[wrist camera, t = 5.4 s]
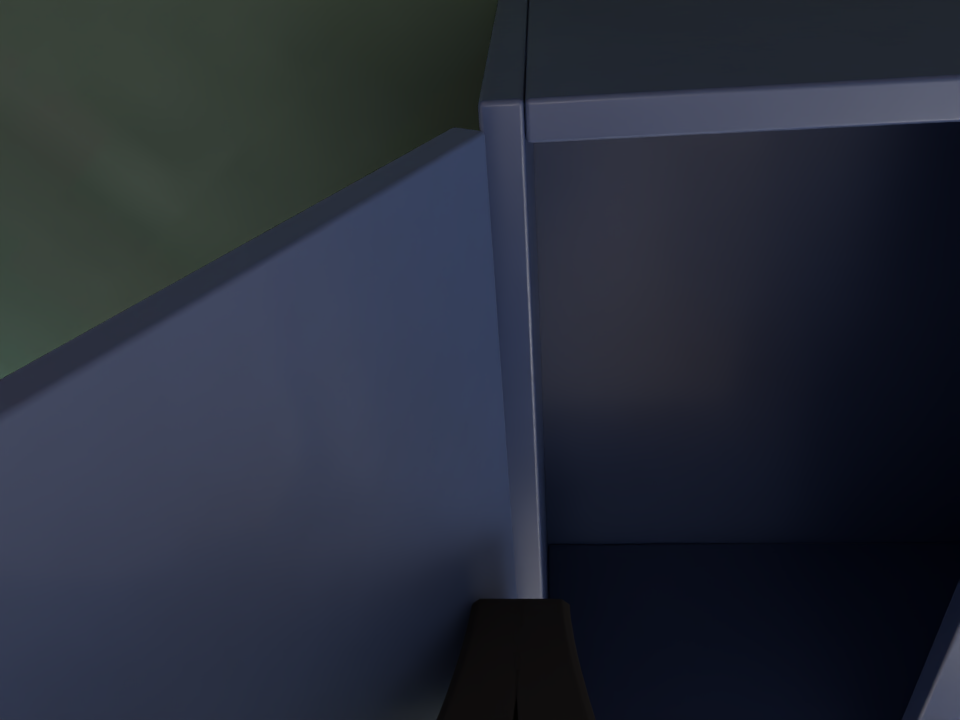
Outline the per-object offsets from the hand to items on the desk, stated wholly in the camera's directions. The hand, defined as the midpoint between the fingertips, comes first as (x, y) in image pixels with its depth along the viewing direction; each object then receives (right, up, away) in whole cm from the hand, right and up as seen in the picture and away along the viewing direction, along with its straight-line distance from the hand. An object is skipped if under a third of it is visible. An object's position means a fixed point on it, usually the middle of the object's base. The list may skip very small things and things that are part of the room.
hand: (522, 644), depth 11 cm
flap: (-2, -1, -1) cm, 3 cm away
